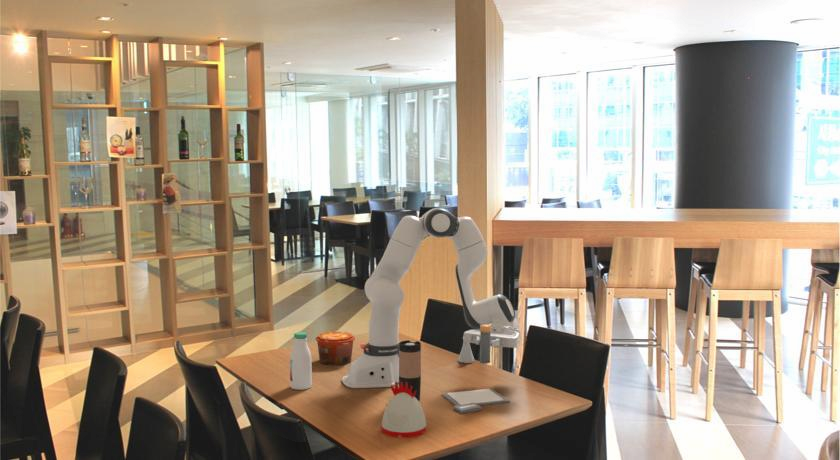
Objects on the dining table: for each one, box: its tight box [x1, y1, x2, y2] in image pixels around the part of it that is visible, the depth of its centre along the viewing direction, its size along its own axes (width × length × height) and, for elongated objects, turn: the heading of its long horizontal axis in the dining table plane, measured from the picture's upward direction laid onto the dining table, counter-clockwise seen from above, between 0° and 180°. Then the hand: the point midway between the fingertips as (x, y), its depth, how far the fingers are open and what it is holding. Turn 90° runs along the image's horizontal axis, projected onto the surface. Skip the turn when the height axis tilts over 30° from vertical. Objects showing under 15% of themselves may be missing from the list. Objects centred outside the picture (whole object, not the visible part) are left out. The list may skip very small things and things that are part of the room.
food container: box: [315, 331, 356, 366], centre depth 314 cm, size 16×16×11 cm
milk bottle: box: [289, 331, 313, 391], centre depth 278 cm, size 8×8×20 cm
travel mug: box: [398, 340, 422, 401], centre depth 264 cm, size 8×8×20 cm
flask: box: [457, 336, 476, 364], centre depth 315 cm, size 7×7×10 cm
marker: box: [479, 324, 491, 365], centre depth 270 cm, size 4×4×13 cm
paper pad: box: [441, 388, 510, 406], centre depth 267 cm, size 19×15×1 cm
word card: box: [453, 403, 483, 414], centre depth 255 cm, size 8×5×1 cm, turn 119°
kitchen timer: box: [380, 382, 427, 439], centre depth 236 cm, size 14×14×15 cm
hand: (484, 343), depth 269 cm, fingers closed on marker, 4 cm apart
